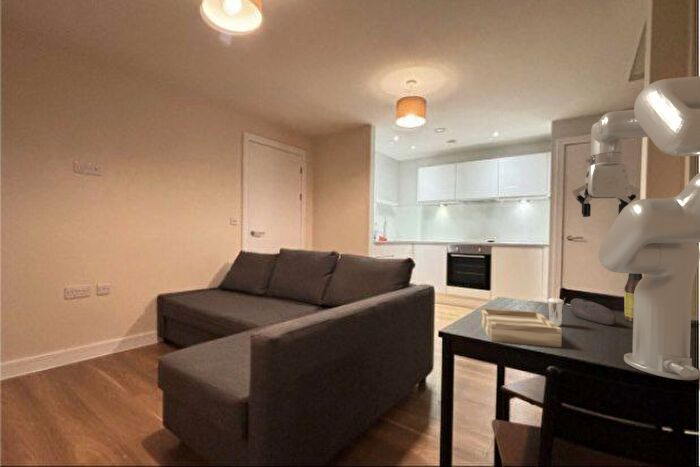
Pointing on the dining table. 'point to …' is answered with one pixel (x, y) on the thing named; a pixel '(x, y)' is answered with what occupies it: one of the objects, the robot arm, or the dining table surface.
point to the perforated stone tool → (592, 311)
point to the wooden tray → (520, 327)
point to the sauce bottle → (630, 294)
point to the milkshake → (555, 310)
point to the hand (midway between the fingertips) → (604, 216)
